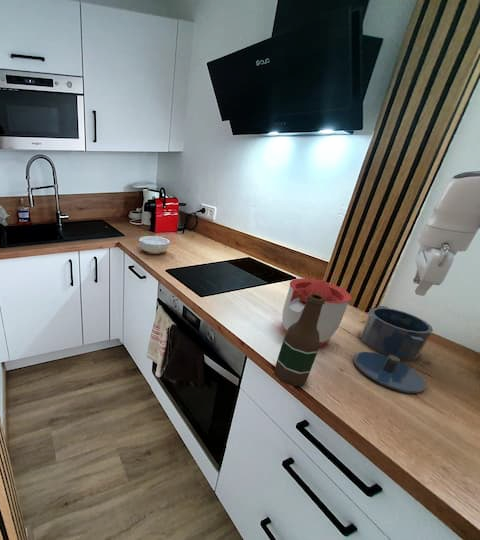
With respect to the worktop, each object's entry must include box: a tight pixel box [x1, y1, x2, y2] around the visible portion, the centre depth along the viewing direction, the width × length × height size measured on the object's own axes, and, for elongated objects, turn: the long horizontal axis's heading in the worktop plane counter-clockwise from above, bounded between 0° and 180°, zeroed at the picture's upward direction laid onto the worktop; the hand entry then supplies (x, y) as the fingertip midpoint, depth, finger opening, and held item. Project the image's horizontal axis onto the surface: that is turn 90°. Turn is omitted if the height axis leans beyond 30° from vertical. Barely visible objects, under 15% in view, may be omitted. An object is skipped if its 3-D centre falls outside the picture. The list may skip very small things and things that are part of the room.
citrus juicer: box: [281, 277, 352, 347], centre depth 88 cm, size 16×17×20 cm
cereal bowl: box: [138, 235, 171, 255], centre depth 160 cm, size 17×17×7 cm
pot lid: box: [353, 351, 427, 394], centre depth 76 cm, size 15×15×5 cm
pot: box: [359, 305, 434, 361], centre depth 87 cm, size 14×19×10 cm
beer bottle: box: [273, 294, 325, 388], centre depth 70 cm, size 8×8×24 cm
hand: (418, 288), depth 77 cm, fingers open, 8 cm apart
